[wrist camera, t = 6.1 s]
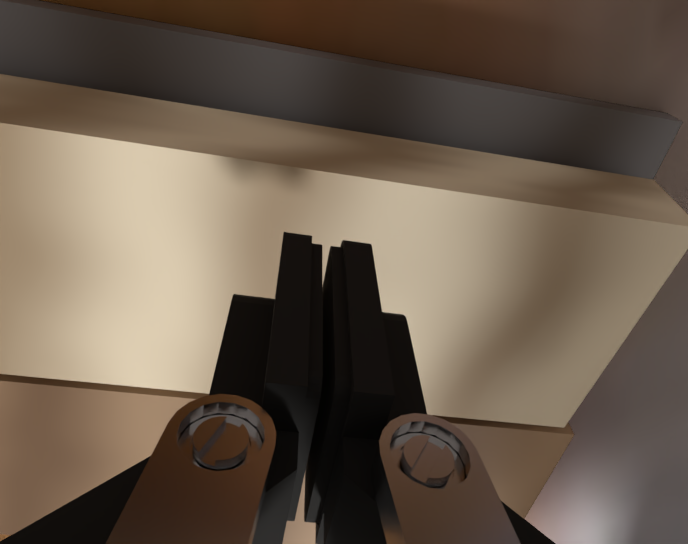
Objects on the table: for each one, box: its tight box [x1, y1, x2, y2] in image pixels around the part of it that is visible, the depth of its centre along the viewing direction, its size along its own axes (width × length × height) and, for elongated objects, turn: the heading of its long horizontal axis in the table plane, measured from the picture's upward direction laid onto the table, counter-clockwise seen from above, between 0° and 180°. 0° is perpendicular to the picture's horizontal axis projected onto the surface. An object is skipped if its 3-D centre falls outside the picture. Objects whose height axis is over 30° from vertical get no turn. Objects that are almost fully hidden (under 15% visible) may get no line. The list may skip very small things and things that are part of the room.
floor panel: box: [0, 0, 683, 544], centre depth 18 cm, size 20×18×3 cm
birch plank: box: [0, 74, 688, 428], centre depth 15 cm, size 19×8×2 cm, turn 80°
